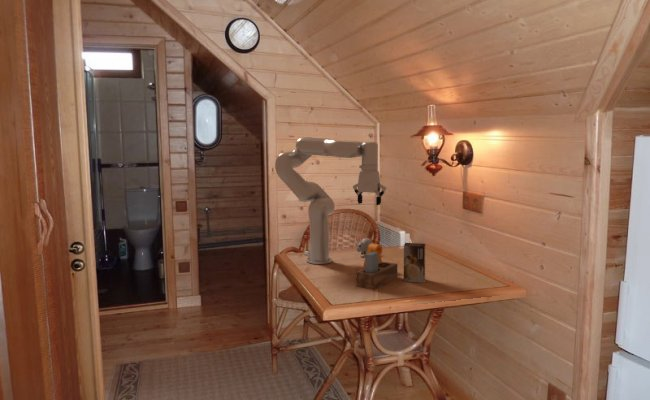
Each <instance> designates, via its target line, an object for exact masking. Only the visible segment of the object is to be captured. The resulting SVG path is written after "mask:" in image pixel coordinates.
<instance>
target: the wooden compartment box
mask: <svg viewBox="0 0 650 400" xmlns="http://www.w3.org/2000/svg"><path fill="white" fill-rule="evenodd" d="M382 261H383V260H382ZM382 261H379V262H378V271H377V272H376V273H374V274H371V273H365V268H364V267H363V269H360V270H358V271H356V273H355V274H356V275H355V280H356V281H355V283H356V284H355V286H356V287H358V288H365V289H369V290H378V289H379V288H381V287H382V286H384V285H386V284H387V283H389V282H391V281H392V280H394V279H396V278H398V263H394V262H387V261H383V262H382Z"/></svg>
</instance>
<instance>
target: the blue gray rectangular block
mask: <svg viewBox="0 0 650 400" xmlns="http://www.w3.org/2000/svg"><path fill="white" fill-rule="evenodd" d="M364 255H365V258H364V261H365V273H371V274H374V273H376V272H377V271H378V252H370V253H368V254H364Z"/></svg>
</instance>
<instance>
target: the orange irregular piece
mask: <svg viewBox="0 0 650 400" xmlns="http://www.w3.org/2000/svg"><path fill="white" fill-rule="evenodd" d="M370 252H378V262H379V261H382V262H384V261H383V260H382V256H381V255H382V253H383V246H382V245H381V244H378V243H374V242H373V243H371V244H370V245H369V246H368V249H367V253H366V254H368V253H370ZM364 268H365V260H364V262H363V269H364Z"/></svg>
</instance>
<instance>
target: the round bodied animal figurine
mask: <svg viewBox="0 0 650 400" xmlns="http://www.w3.org/2000/svg"><path fill="white" fill-rule="evenodd" d="M371 243H373V244H374V242H373V240H372V239H371V238H368V237H366V238H363V239H361V241H357V245H356V248H355V250H356V252H357V253H361V254H363V255H365V254H366V253H367V249H368V246H369V245H370V244H371Z"/></svg>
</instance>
